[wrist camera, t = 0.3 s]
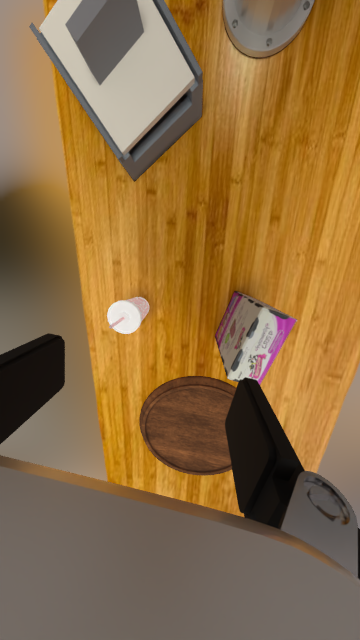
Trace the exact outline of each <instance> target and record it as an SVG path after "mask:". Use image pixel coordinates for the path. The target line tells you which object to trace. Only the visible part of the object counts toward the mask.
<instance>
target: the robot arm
mask: <svg viewBox="0 0 360 640" xmlns="http://www.w3.org/2000/svg"><path fill="white" fill-rule="evenodd" d="M314 1H315V0H223V18H224V23H225V27H226V30H227V33H228V35H229V37H230V39H231V41H232V42H233V44H234V45H235V46H236V47H237V48H238V49H239V50H240V51H241V52H243V53H245V54H246V55H248V56H252V57H267V56H270V55H273V54H275V53H277V52H279V51H281V50H282V49H283V48H285V47H286V46H287V45H288V44H289V43H290V42H291V41H292V40H293V39H294V38H295V37H296V36H297V34H298V33H299V31H300V30H301V28H302V27H303V25H304V23H305V21H306V19H307V17H308V15H309V13H310V10H311V8H312V6H313V3H314ZM64 348H65V342H64V340H63V339H62V337H61V336H58V335H54V334H46V335H44V336H41V337H39V338H37V339H35V340H32V341H30V342H28V343H26V344H24V345H21V346H19V347H17V348H15V349H13V350H11V351H8V352H6V353H4V354H1V355H0V444H1V443H2V442H3V441H4V440H6V439H7V438H8V437H9V436H10V435H11V434H12V433H13V432H14V431H16V430H17V429H18V428H19V427H20V426H21V425H22V424H23V423H24V422H25V421H27V420H28V419H29V418H30V417H31V416H32V415H33V414H34V413H35V412H37V411H38V410H39V409H40V408H41V407H42V406H43V405H44V404H45V403H46V402H48V401H49V400H50V399H51V398H52V397H53V396H54V395H55V394H56V393H57V392H59V391H60V389H62V387H63V386H64V382H65V349H64ZM225 430H226V436H227V442H228V447H229V453H230V459H231V465H232V471H233V476H234V482H235V488H236V494H237V500H238V505H239V509H240V512H241V513H244V516H245V518H244V517H241V516H237V515H233V514H230V513H226V512H222V511H219V510H215V509H212V508H208V507H204V506H201V505H197V504H193V503H189V502H185V501H181V500H177V499H174V498H170V497H166V496H162V495H158V494H154V493H150V492H146V491H142V490H138V489H134V488H130V487H126V486H122V485H118V484H114V483H110V482H106V481H102V480H98V479H94V478H90V477H86V476H82V475H78V474H74V473H70V472H66V471H62V470H58V469H54V468H50V467H46V466H42V465H37V464H33V463H29V462H25V461H21V460H17V459H12V458H9V457H4V456H0V640H360V529H359V528H358V524H357V519H356V515H355V513H354V511H353V509H352V507H351V505H350V504H349V502H348V501H347V499H346V498H345V497H344V495H343V494H342V493H341V492H340V491H339V490H338V489H337V488H336V487H335V486H334V485H333V484H332V483H330V482H329V481H328V480H326V479H325V478H323V477H322V476H320V475H318V474H316V473H314V472H310V471H305V470H304V469H303V467H302V465H301V463H300V461H299V459H298V457H297V455H296V453H295V451H294V449H293V448H292V446H291V444H290V442H289V440H288V438H287V436H286V434H285V432H284V430H283V429H282V427H281V425H280V423H279V421H278V419H277V417H276V415H275V414H274V412H273V410H272V408H271V406H270V404H269V402H268V400H267V398H266V396H265V394H264V393H263V391H262V389H261V387H260V385H259V383H258V381H257V380H255V379H251V378H246V377H245V378H244V379H243V380H242V379H240V380H239V383H238V386H237V388H236V391H235V394H234V397H233V400H232V403H231V406H230V408H229V411H228V414H227V417H226V420H225Z"/></svg>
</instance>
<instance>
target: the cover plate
mask: <svg viewBox="0 0 360 640" xmlns="http://www.w3.org/2000/svg"><path fill="white" fill-rule="evenodd" d="M39 29H40V31H41V32H42V34H43V35H44V37H45V38H46V40H47V41H48V43H49V44H50V46H51V47H52V49H53V50H54V52H55V53H56V55H57V56H58V58H59V59H60V61H61V62H62V64H63V65H64V67H65V68H66V70H67V71H68V73H69V74H70V76H71V77H72V79H73V80H74V82H75V83H76V85H77V86H78V88H79V89H80V91H81V92H82V94H83V95H84V97H85V98H86V100H87V101H88V103H89V104H90V106H91V107H92V109H93V110H94V112H95V113H96V115H97V116H98V118H99V119H100V121H101V122H102V124H103V125H104V127H105V128H106V130H107V131H108V133H109V134H110V136H111V137H112V139H113V140H114V142H115V143H116V145H117V146H118V148H119V149H120V151H121V152H122V154H123V155H124V156H125V155H126V154H127V153H128V152H129V151H130V149H131V148H132V147H133V146H134V145H135V144H136V143H137V142H138V141H139V140H140V139H141V138H142V137H143V136H144V135H145V134H146V133H147V132H148V131H149V130H150V129H151V128H152V127H153V126H154V125H155V124H156V123H157V122H158V121H159V120H160V118H161V117H162V116H163V115H164V114H165V113H166V112H167V111H168V110H169V109H170V108H171V107H172V106H173V105H174V104H175V103H176V102H177V101H178V100H179V99H180V98H181V97H182V96H183V95H184V94H185V93H186V92H187V91H188V90H189V89H190V87H191V86H192V85H193V84H194V83H195V77H194V75H193V74H192V72H191V70H190V68H189V66H188V64H187V63H186V61H185V59H184V57H183V55H182V54H181V52H180V50H179V48H178V46H177V44H176V43H175V41H174V39H173V37H172V35H171V33H170V32H169V30H168V28H167V26H166V24H165V22H164V21H163V19H162V17H161V15H160V13H159V11H158V10H157V8H156V6H155V4H154V2H153V1H152V0H58V1H57V2H56V4H55V5H54V7H53V8H52V10H51V11H50V13H49V14H48V16H47V17H46V19H45V20H44V22H43V23H42V25H41V26H40V28H39Z"/></svg>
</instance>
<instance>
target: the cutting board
mask: <svg viewBox="0 0 360 640" xmlns="http://www.w3.org/2000/svg"><path fill="white" fill-rule="evenodd" d="M235 391H236V388H235V387H234V386H232V385H230V384H228V383H226V382H223V381H221V380H218V379H214V378H210V377H203V376H188V377H181V378H177V379H174V380H171V381H168V382H166V383H164V384H162V385H161V386H159V387H158V388H156V389H155V390H154V391H153V392H152V393H151V394H150V395H149V396H148V398H147V399H146V401H145V402H144V405H143V407H142V409H141V414H140V429H141V433H142V436H143V439H144V441H145V443H146V445H147V447H148V448H149V450H150V451H151V452H152V454H153V455H154V456H155V457H156V458H157V459H158V460H160V461H161V462H162V463H164V464H165V465H167V466H169V467H171V468H173V469H175V470H178V471H180V472H184V473H187V474H193V475H215V474H220V473H223V472H226V471H229V470H231V469H232V465H231V459H230V453H229V447H228V442H227V436H226V430H225V420H226V417H227V414H228V411H229V408H230V406H231V403H232V400H233V397H234V394H235Z"/></svg>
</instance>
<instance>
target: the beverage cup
mask: <svg viewBox="0 0 360 640" xmlns="http://www.w3.org/2000/svg"><path fill="white" fill-rule="evenodd" d="M148 312H149V304H148V302H147V301H146V300H145V299H144V298H142V297H135V298H132V299H128V300H120V301H118V302H116V303H113V304H112V305H111V306H110V308H109V310H108V313H107V317H108V322H109V324H110V326H109V328H113V329H114V330H116V331H117V332H120V333H122V334H130V333H132V332H134V331H136V329H137V328H138V327H139V326H140V324H141V321H142V320H143V319H144V317H145V316H146V315H147V313H148Z"/></svg>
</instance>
